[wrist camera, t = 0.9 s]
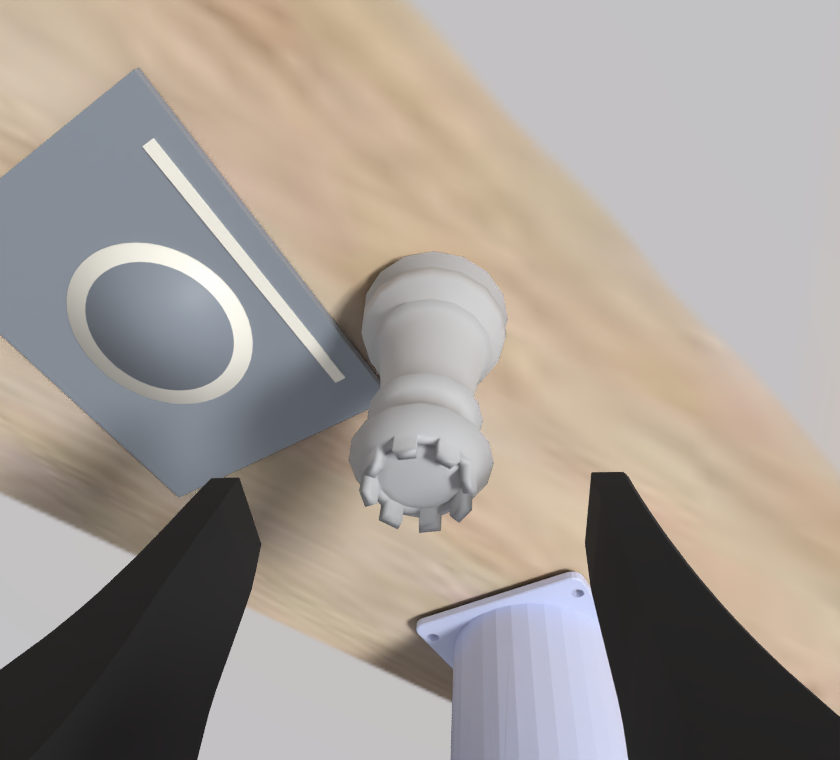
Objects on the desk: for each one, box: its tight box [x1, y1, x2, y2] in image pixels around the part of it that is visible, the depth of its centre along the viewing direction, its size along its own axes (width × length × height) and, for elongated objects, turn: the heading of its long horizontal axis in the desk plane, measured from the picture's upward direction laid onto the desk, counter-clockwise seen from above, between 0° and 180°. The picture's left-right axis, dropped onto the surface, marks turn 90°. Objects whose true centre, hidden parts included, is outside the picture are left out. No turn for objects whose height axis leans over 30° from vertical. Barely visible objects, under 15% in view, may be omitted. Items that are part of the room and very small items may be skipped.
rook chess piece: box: [349, 251, 508, 533], centre depth 17 cm, size 4×4×8 cm
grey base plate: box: [0, 68, 380, 497], centre depth 21 cm, size 12×10×1 cm
